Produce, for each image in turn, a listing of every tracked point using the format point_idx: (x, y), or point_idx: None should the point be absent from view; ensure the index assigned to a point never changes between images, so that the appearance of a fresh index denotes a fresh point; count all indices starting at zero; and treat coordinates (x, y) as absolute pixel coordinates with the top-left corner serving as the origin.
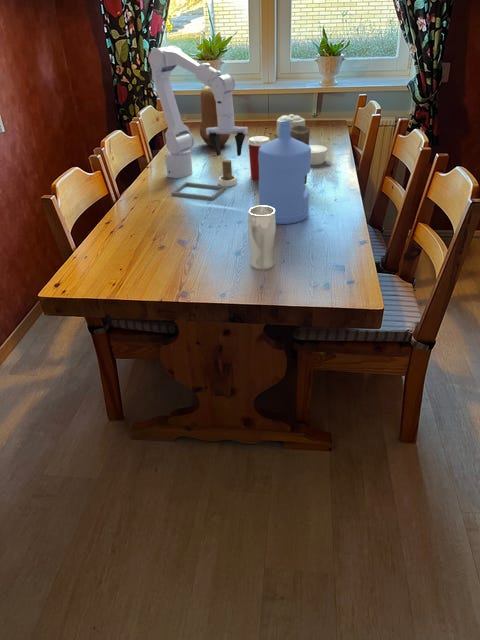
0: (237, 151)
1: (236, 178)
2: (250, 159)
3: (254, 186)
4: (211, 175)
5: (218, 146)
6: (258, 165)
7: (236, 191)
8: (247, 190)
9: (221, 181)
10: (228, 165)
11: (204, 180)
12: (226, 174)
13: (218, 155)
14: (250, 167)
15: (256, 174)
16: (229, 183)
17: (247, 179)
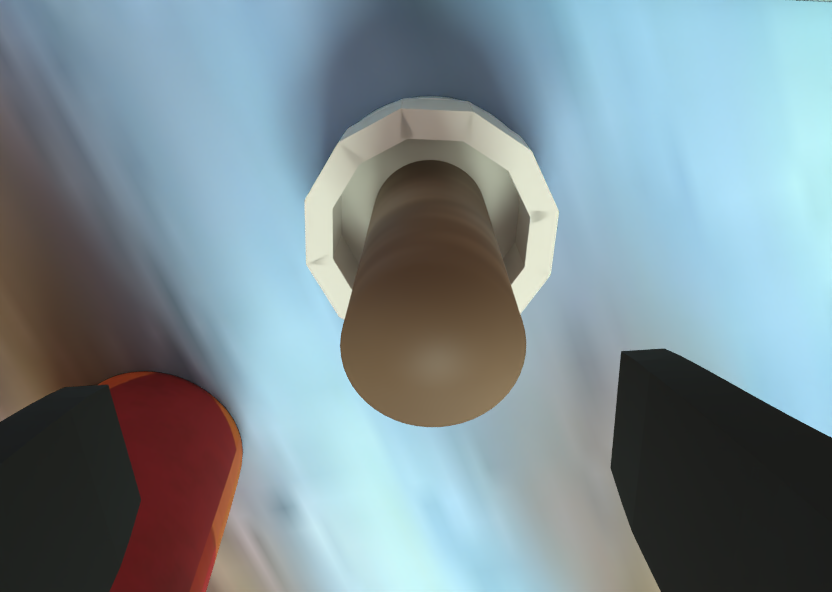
0: (17, 432)
1: (307, 257)
2: (121, 579)
3: (110, 252)
4: None
5: (720, 588)
6: None
7: (235, 24)
8: (119, 99)
9: (480, 114)
10: (374, 263)
11: (768, 299)
12: (418, 195)
13: (628, 353)
14: (191, 509)
15: None
16: (362, 124)
17: (288, 431)
